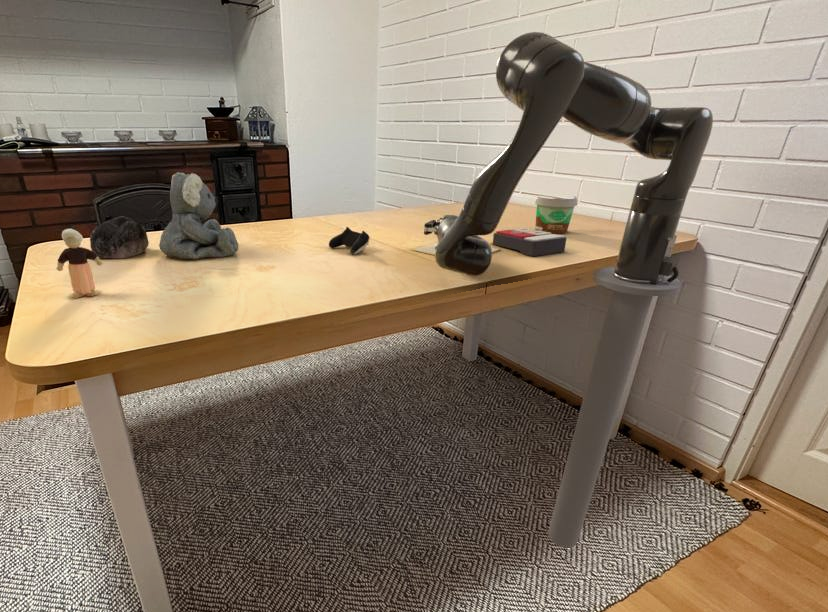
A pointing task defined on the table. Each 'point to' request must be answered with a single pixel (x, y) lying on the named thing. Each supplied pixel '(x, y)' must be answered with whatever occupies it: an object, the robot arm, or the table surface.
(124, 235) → the dark grey furry dome
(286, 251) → the table surface
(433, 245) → the paper sheet
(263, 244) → the table surface
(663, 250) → the robot arm
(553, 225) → the food container
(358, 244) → the gaming controller
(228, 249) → the koala plush
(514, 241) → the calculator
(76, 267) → the grandmother figurine
